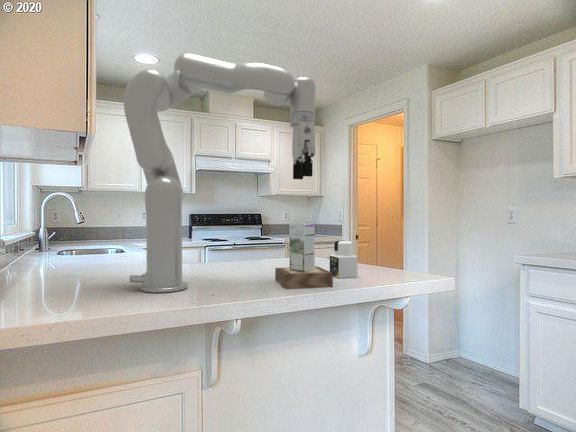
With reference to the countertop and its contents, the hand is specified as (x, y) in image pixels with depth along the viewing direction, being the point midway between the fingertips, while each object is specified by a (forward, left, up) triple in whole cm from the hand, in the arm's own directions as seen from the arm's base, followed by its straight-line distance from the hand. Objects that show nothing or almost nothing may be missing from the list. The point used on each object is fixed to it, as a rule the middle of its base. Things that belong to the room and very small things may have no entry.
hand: (302, 177), depth 117 cm
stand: (0, 0, -32) cm, 32 cm away
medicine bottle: (+17, +10, -32) cm, 38 cm away
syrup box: (0, 0, -28) cm, 28 cm away
